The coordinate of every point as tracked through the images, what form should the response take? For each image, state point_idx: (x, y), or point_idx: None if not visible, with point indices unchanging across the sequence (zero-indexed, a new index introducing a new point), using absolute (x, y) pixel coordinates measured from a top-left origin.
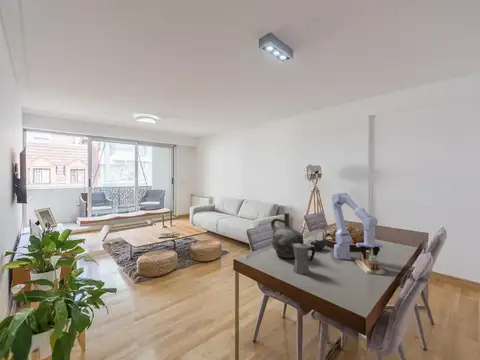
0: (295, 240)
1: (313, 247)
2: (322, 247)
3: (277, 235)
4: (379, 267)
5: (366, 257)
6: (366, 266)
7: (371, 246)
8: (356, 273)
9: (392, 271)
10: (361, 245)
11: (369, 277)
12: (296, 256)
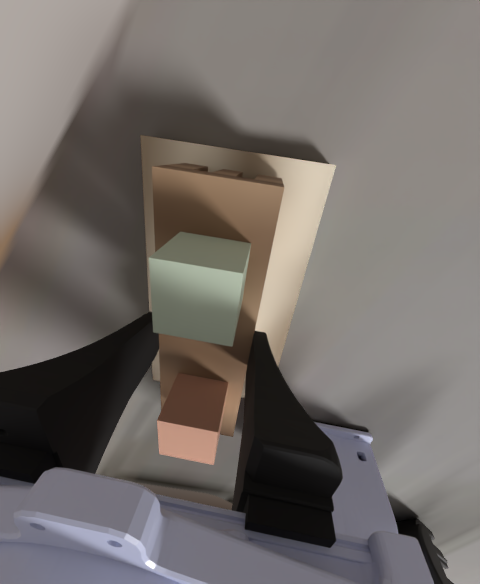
0: None
1: (437, 554)
2: None
3: None
4: (181, 164)
5: (223, 360)
6: None
7: (119, 499)
8: (445, 165)
9: (67, 206)
10: (347, 579)
11: (381, 36)
12: None
